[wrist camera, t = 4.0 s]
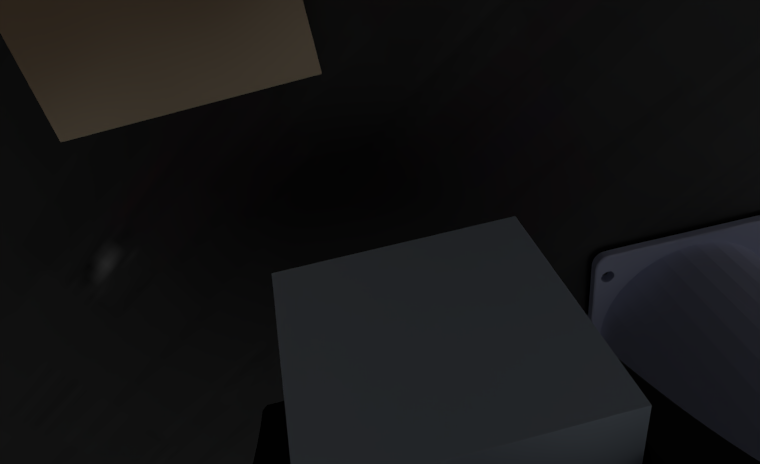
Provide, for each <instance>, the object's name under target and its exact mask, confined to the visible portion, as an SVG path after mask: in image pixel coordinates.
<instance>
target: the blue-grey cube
mask: <svg viewBox="0 0 760 464" xmlns="http://www.w3.org/2000/svg"><path fill="white" fill-rule="evenodd" d="M272 282H273V292H274V302H275V312H276V322H277V332H278V342H279V352H280V362H281V372H282V382H283V393H284V403H285V413H286V423H287V433H288V443H289V453H290V463H291V464H642V462H643V456H644V450H645V444H646V438H647V431H648V425H649V419H650V413H651V407H652V405H651V403H650V402H649V401H648V399H647V398H646V396H645V395H644V394H643V392H642V391H641V390H640V388H639V387H638V385H637V384H636V383H635V381H634V380H633V378H632V377H631V376H630V374H629V373H628V372H627V370H626V369H625V367H624V366H623V365H622V363H621V362H620V360H619V359H618V358H617V356H616V355H615V354H614V352H613V351H612V349H611V348H610V347H609V345H608V344H607V342H606V341H605V340H604V338H603V337H602V336H601V334H600V333H599V331H598V330H597V329H596V327H595V326H594V324H593V323H592V322H591V320H590V319H589V317H588V316H587V315H586V313H585V312H584V311H583V309H582V308H581V306H580V305H579V304H578V302H577V301H576V299H575V298H574V297H573V295H572V294H571V293H570V291H569V290H568V288H567V287H566V286H565V284H564V283H563V281H562V280H561V279H560V277H559V276H558V275H557V273H556V272H555V270H554V269H553V268H552V266H551V265H550V263H549V262H548V261H547V259H546V258H545V256H544V255H543V254H542V252H541V251H540V250H539V248H538V247H537V245H536V244H535V243H534V241H533V240H532V238H531V237H530V236H529V234H528V233H527V232H526V230H525V229H524V227H523V226H522V225H521V223H520V222H519V220H518V219H517V218H516V216H513V217H509V218H505V219H501V220H496V221H492V222H488V223H484V224H479V225H475V226H471V227H467V228H462V229H458V230H454V231H450V232H445V233H441V234H437V235H433V236H428V237H424V238H420V239H416V240H411V241H407V242H403V243H399V244H394V245H390V246H386V247H382V248H377V249H373V250H369V251H365V252H360V253H356V254H352V255H348V256H343V257H339V258H335V259H331V260H326V261H322V262H318V263H314V264H309V265H305V266H301V267H297V268H292V269H288V270H284V271H280V272H275V273H272Z"/></svg>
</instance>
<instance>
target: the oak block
mask: <svg viewBox="0 0 760 464" xmlns="http://www.w3.org/2000/svg"><path fill="white" fill-rule="evenodd" d="M0 33H1V35H2V37H3V39H4V41H5V42H6V44H7V46H8V48H9V50H10V51H11V53H12V55H13V57H14V59H15V60H16V62H17V64H18V66H19V68H20V70H21V71H22V73H23V75H24V77H25V79H26V80H27V82H28V84H29V86H30V88H31V89H32V91H33V93H34V95H35V97H36V99H37V100H38V102H39V104H40V106H41V108H42V109H43V111H44V113H45V115H46V117H47V118H48V120H49V122H50V124H51V126H52V127H53V129H54V131H55V133H56V135H57V137H58V138H59V140H60V142H64V141H68V140H72V139H75V138H79V137H83V136H87V135H91V134H94V133H98V132H102V131H106V130H110V129H113V128H117V127H121V126H125V125H129V124H132V123H136V122H140V121H144V120H148V119H151V118H155V117H159V116H163V115H167V114H170V113H174V112H178V111H182V110H186V109H190V108H193V107H197V106H201V105H205V104H209V103H212V102H216V101H220V100H224V99H228V98H231V97H235V96H239V95H243V94H247V93H250V92H254V91H258V90H262V89H266V88H269V87H273V86H277V85H281V84H285V83H288V82H292V81H296V80H300V79H304V78H308V77H311V76H315V75H319V74H322V72H321V68H320V65H319V61H318V57H317V53H316V49H315V45H314V42H313V38H312V34H311V30H310V26H309V22H308V19H307V15H306V11H305V7H304V3H303V0H0Z"/></svg>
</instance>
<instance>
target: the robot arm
mask: <svg viewBox="0 0 760 464" xmlns="http://www.w3.org/2000/svg"><path fill="white" fill-rule="evenodd" d="M606 272H608V273H607V274H606V275H604V276H602V275H603V274H604V273H606ZM588 317H589V319H590V320H591V322H592V323H593V324H594V326H595V327H596V329H597V330H598V331H599V333H600V334H601V336H602V337H603V338H604V340H605V341H606V342H607V344H608V345H609V347H610V348H611V349H612V351H613V352H614V354H615V355H616V356H617V358H618V359H619V360H620V362H621V363H622V365H623V366H624V367H625V369H626V370H627V372H628V373H629V374H630V376H631V377H632V378H633V380H634V381H635V383H636V384H637V385H638V387H639V388H640V390H641V391H642V392H643V394H644V395H645V396H646V398H647V399H648V401H649V402H650V403H651V405H652V407H651V413H650V419H649V425H648V431H647V438H646V444H645V450H644V456H643V462H642V464H760V215H758V216H753V217H749V218H745V219H741V220H736V221H732V222H728V223H723V224H719V225H715V226H710V227H706V228H702V229H697V230H693V231H689V232H685V233H680V234H676V235H672V236H667V237H663V238H659V239H654V240H650V241H646V242H642V243H637V244H633V245H629V246H624V247H620V248H616V249H611V250H607V251H604V252H601V253H599V254H598V255H597V256H596V257H595V258H594V259H593V262H592V268H591V282H590V295H589V309H588ZM253 464H291V463H290V453H289V443H288V433H287V423H286V413H285V403H284V401H282V402H278V403H274V404H270V405H267V406H266V407H265V409H264V410H263V414H262V421H261V428H260V433H259V439H258V444H257V449H256V453H255V457H254V462H253Z"/></svg>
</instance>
